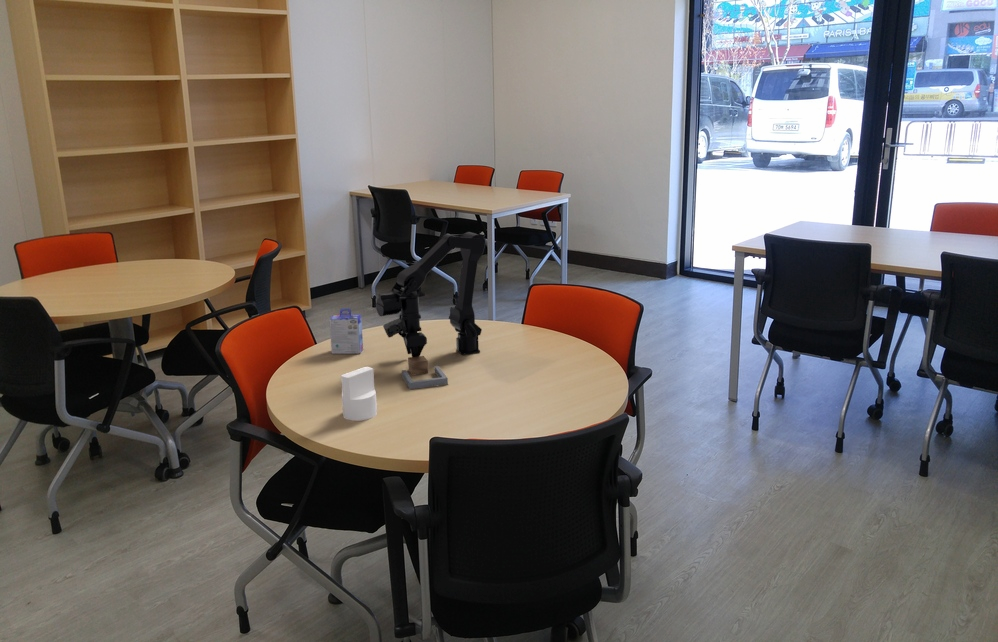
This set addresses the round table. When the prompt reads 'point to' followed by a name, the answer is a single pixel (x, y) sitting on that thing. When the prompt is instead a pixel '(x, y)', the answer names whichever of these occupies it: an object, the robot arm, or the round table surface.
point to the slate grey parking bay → (426, 380)
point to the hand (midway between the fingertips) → (412, 358)
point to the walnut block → (418, 365)
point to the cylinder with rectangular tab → (359, 394)
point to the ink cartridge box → (346, 333)
